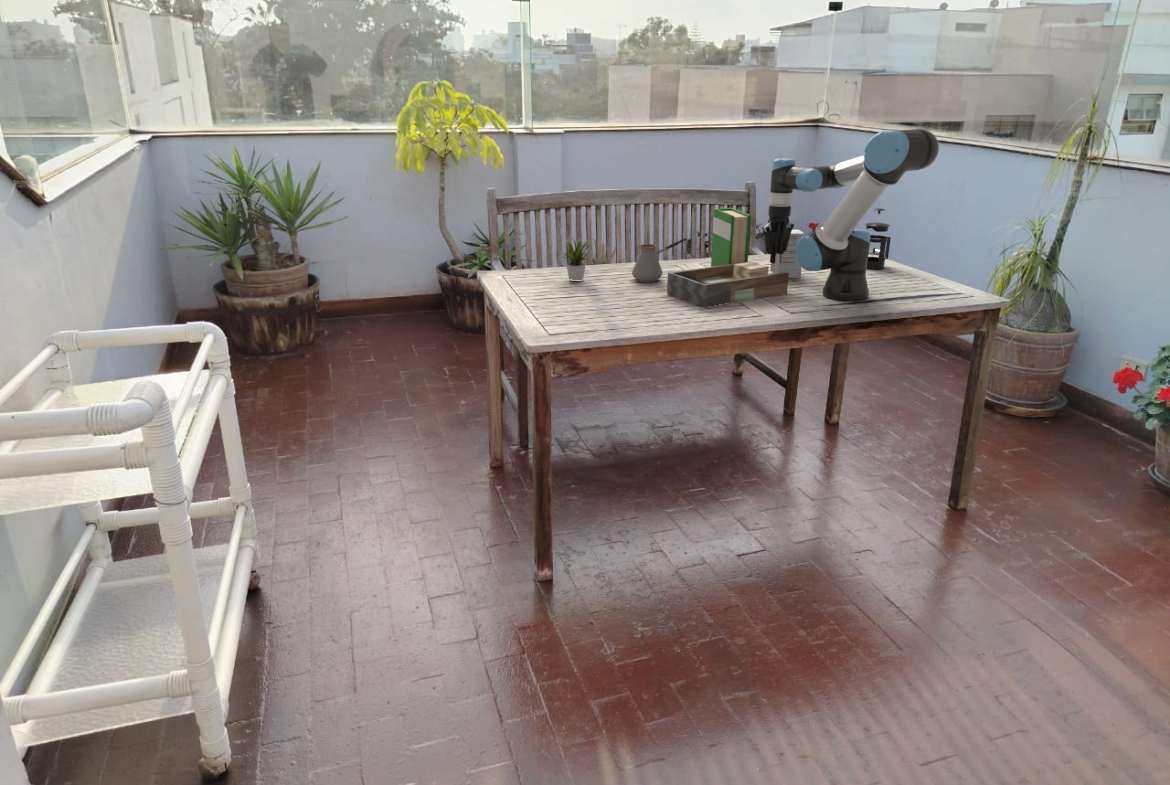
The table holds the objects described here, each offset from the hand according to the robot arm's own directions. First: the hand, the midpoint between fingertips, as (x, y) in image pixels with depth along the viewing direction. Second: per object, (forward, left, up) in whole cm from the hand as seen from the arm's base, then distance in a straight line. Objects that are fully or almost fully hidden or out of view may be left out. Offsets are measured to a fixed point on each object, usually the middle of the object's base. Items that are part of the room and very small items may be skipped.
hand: (774, 271), depth 286 cm
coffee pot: (+30, +29, -6) cm, 42 cm away
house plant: (+43, +56, -6) cm, 71 cm away
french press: (+5, -56, -6) cm, 57 cm away
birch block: (0, +11, -2) cm, 11 cm away
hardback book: (+22, +3, -6) cm, 23 cm away
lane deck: (0, +21, -6) cm, 22 cm away
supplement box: (+11, -16, -6) cm, 20 cm away
